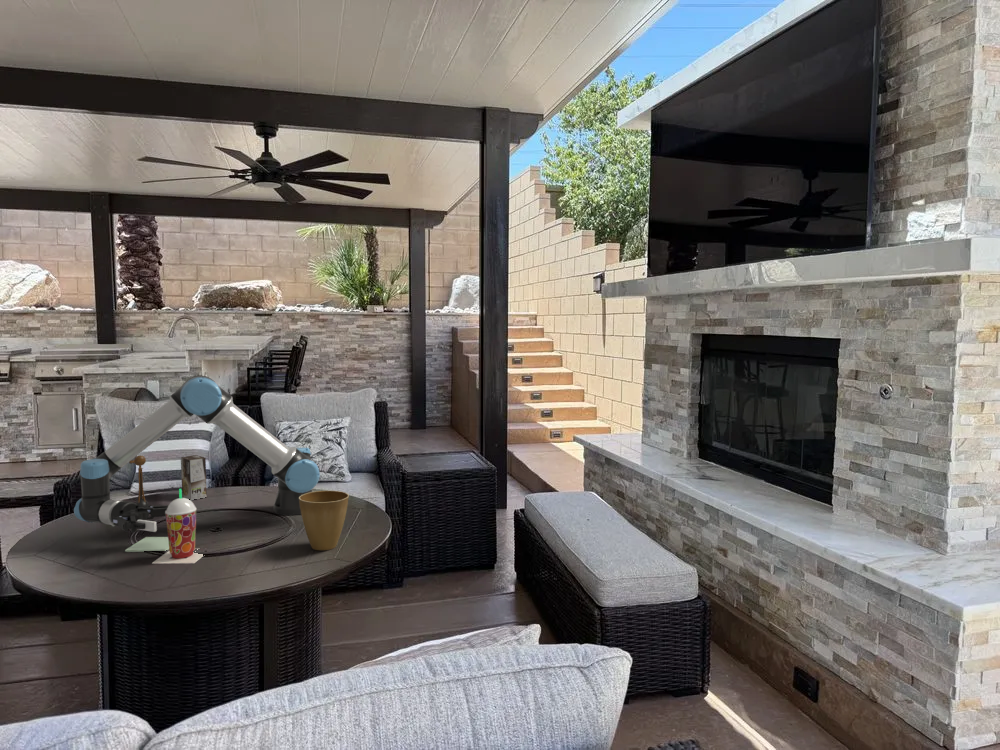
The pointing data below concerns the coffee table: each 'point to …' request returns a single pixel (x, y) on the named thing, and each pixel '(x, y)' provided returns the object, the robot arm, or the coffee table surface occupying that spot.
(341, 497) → the plant pot
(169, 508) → the smoothie
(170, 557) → the tile
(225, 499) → the coffee table surface
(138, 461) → the wooden tabletop sculpture
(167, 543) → the coaster
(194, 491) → the coffee box
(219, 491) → the coffee table surface
